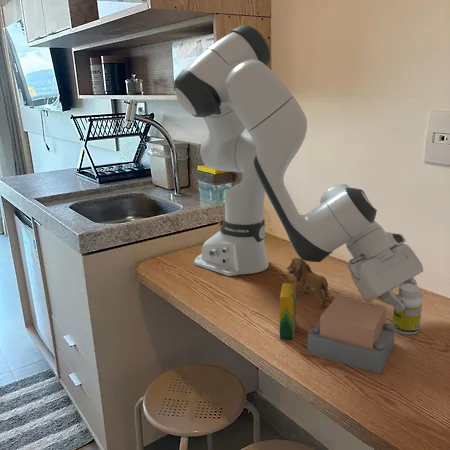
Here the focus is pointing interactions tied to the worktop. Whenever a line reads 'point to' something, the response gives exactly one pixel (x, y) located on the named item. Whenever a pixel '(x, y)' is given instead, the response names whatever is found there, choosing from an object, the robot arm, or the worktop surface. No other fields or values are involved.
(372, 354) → the brick tower
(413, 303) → the supplement bottle
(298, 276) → the lion figurine
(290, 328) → the crayon box
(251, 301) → the worktop surface
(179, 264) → the worktop surface
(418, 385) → the worktop surface
